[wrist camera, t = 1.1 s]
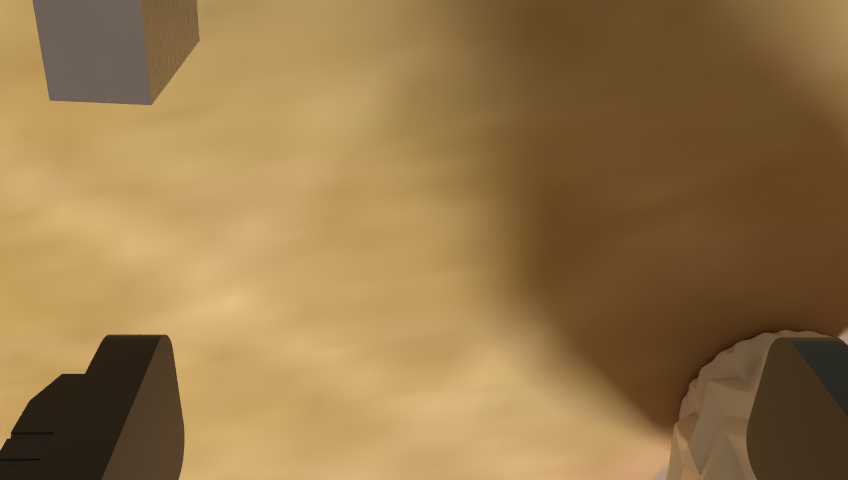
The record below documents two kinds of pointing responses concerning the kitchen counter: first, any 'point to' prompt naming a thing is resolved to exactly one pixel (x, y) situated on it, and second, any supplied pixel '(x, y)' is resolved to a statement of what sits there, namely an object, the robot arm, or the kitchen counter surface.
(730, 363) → the vase
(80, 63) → the brushed metal block
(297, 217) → the kitchen counter surface
